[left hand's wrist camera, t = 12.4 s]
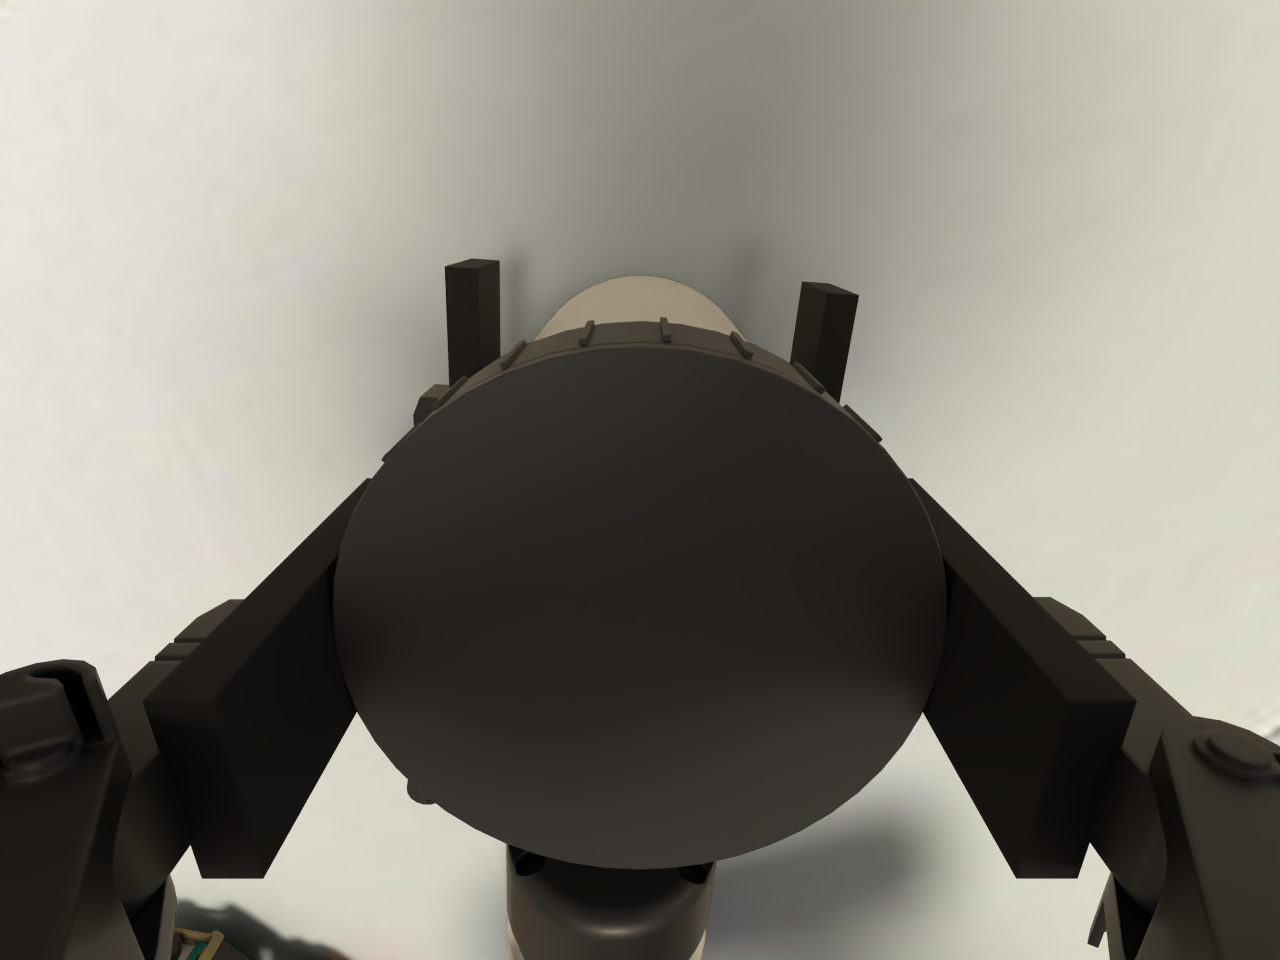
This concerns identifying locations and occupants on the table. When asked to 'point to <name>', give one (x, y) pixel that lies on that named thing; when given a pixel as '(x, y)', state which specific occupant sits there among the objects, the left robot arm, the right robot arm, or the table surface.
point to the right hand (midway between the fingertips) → (652, 276)
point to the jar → (639, 306)
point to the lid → (639, 599)
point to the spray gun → (202, 946)
